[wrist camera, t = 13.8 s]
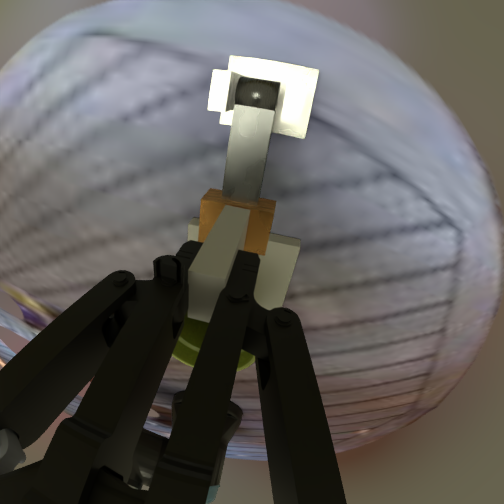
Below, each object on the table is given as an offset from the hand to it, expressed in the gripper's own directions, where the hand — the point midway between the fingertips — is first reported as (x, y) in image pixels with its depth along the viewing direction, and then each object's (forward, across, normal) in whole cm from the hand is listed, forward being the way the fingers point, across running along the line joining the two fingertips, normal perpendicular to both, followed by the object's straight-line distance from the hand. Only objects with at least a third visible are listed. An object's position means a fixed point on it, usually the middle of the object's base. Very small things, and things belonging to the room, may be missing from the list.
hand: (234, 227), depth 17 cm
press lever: (+2, 0, -4) cm, 4 cm away
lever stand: (+10, 0, -8) cm, 12 cm away
